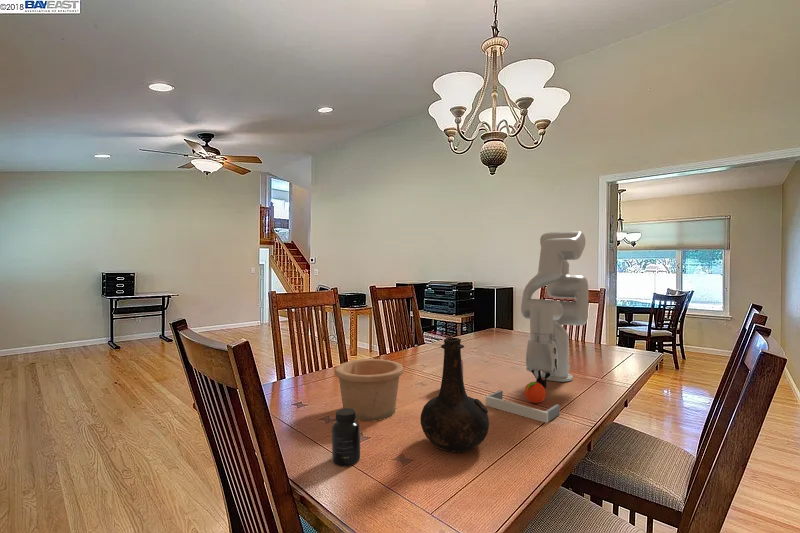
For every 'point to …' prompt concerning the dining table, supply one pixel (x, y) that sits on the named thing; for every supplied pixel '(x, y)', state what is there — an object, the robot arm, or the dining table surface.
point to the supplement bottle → (345, 438)
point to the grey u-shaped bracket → (521, 408)
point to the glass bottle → (454, 408)
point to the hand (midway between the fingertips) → (541, 389)
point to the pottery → (369, 387)
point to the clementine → (535, 392)
